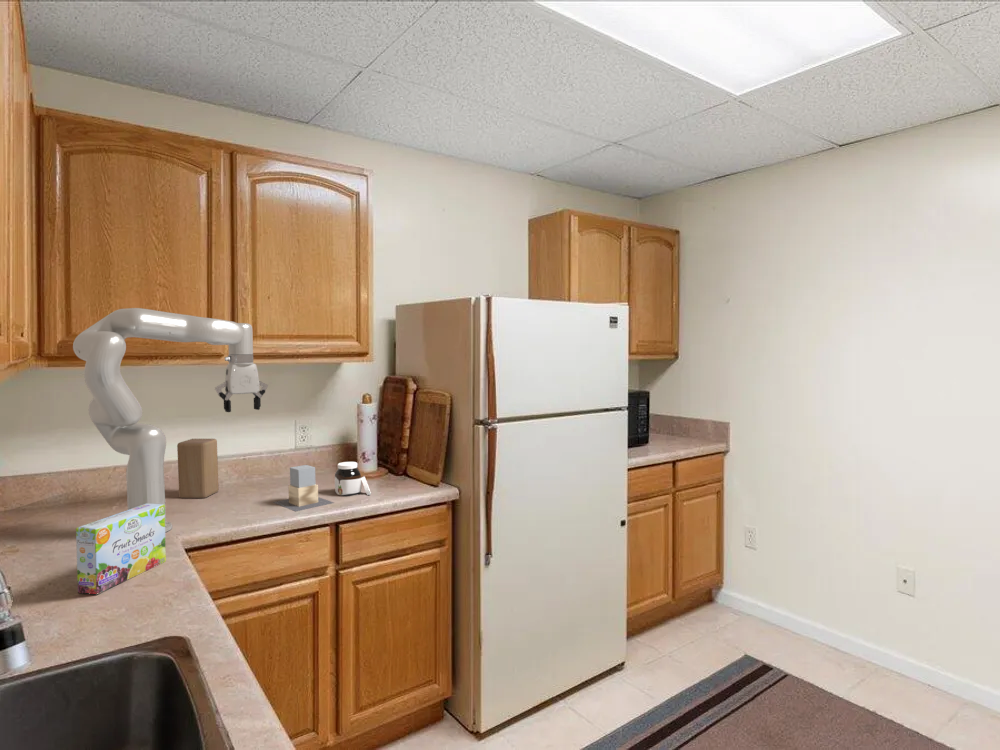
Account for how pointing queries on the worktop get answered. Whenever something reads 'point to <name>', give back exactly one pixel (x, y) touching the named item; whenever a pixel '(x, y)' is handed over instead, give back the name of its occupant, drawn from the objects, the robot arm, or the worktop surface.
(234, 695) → the worktop surface
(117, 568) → the snack box
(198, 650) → the worktop surface
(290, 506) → the build mat
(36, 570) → the worktop surface
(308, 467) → the grey cube
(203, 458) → the block
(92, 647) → the worktop surface
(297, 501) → the base block
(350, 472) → the spread jar
